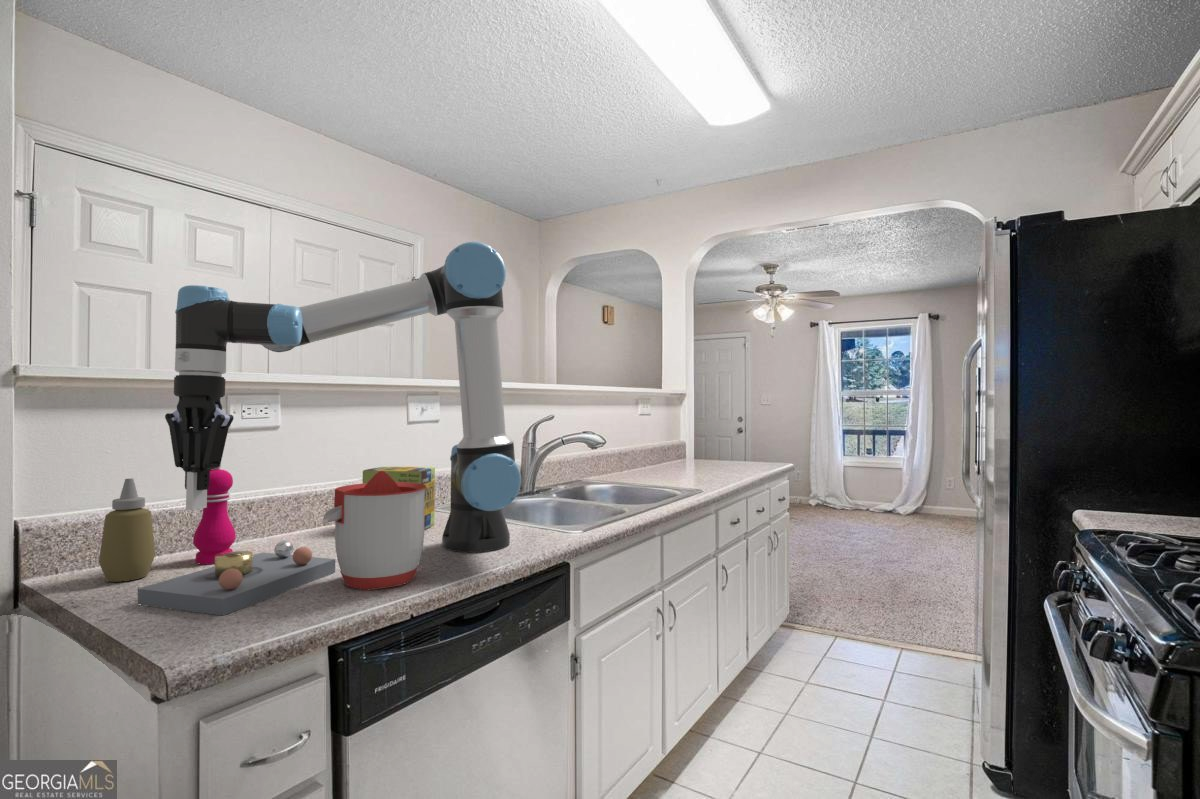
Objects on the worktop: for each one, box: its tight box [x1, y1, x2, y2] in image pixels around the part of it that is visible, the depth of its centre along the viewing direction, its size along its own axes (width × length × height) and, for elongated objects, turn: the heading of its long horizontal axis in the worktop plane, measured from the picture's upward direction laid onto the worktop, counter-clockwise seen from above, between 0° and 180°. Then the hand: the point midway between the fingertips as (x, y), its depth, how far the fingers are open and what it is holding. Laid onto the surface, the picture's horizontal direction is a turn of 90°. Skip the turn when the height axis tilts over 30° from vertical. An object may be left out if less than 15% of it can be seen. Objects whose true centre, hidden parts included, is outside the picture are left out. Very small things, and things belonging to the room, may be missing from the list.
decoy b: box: [219, 569, 243, 590], centre depth 92 cm, size 3×3×3 cm
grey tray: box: [137, 552, 336, 617], centre depth 102 cm, size 17×24×2 cm
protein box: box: [362, 466, 436, 531], centre depth 151 cm, size 10×15×16 cm
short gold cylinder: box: [214, 550, 254, 577], centre depth 101 cm, size 6×6×3 cm
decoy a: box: [292, 546, 313, 565], centre depth 107 cm, size 3×3×3 cm
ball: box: [273, 540, 294, 558], centre depth 112 cm, size 3×3×3 cm
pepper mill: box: [192, 463, 237, 565], centre depth 119 cm, size 7×7×20 cm
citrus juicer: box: [322, 470, 426, 591], centre depth 105 cm, size 16×17×20 cm
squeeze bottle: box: [98, 477, 156, 583], centre depth 106 cm, size 8×8×18 cm
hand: (196, 508), depth 103 cm, fingers closed
